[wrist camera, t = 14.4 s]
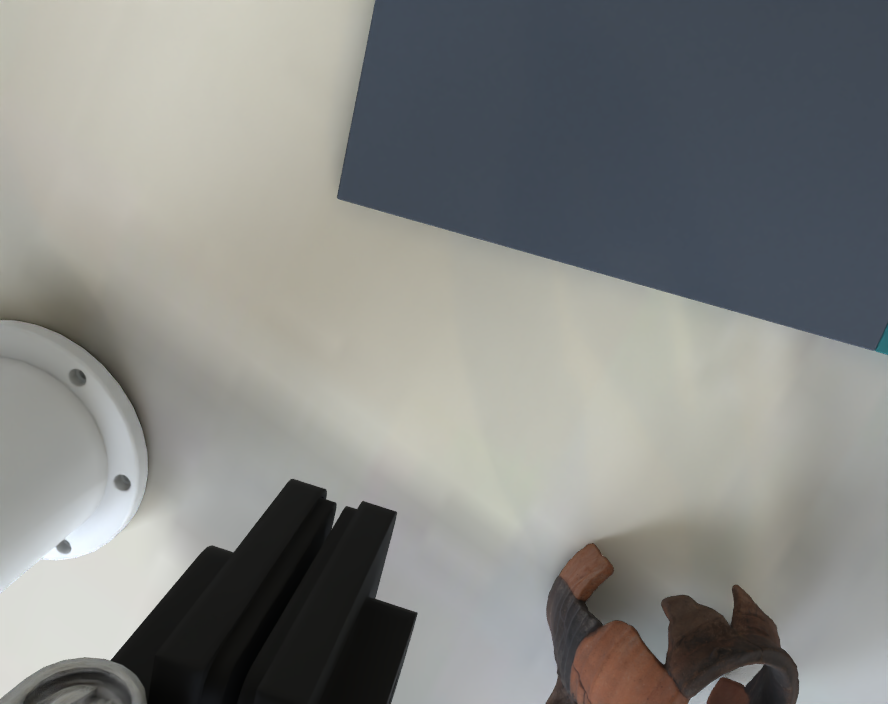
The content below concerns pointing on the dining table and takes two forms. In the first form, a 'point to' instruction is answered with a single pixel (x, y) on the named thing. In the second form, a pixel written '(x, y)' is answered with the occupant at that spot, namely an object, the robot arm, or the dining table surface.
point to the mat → (645, 144)
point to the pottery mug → (688, 657)
